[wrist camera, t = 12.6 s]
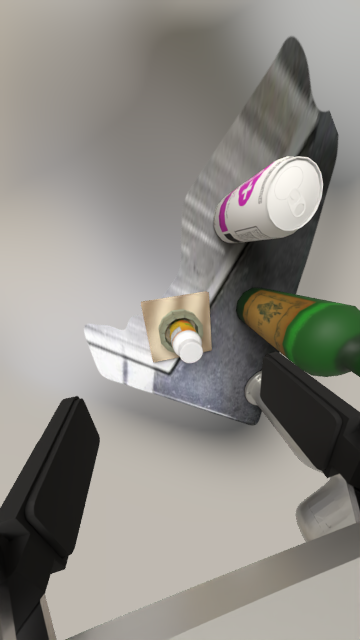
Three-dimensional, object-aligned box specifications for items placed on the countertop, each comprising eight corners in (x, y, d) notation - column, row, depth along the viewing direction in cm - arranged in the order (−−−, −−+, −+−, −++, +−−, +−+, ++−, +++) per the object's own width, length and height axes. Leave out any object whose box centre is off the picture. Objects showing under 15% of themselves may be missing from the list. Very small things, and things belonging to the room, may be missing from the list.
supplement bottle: (197, 327, 38) (213, 350, 29) (181, 345, 39) (191, 372, 30) (179, 313, 36) (191, 332, 27) (163, 331, 37) (168, 356, 28)
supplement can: (203, 216, 32) (248, 187, 18) (238, 183, 31) (313, 127, 17) (226, 252, 35) (280, 251, 21) (259, 223, 34) (336, 203, 20)
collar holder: (206, 291, 37) (213, 295, 33) (209, 347, 42) (215, 356, 39) (141, 301, 35) (140, 307, 32) (152, 358, 40) (153, 369, 37)
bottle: (228, 289, 38) (405, 362, 12) (272, 276, 39) (521, 321, 13) (233, 331, 42) (372, 452, 16) (272, 319, 43) (462, 415, 17)
